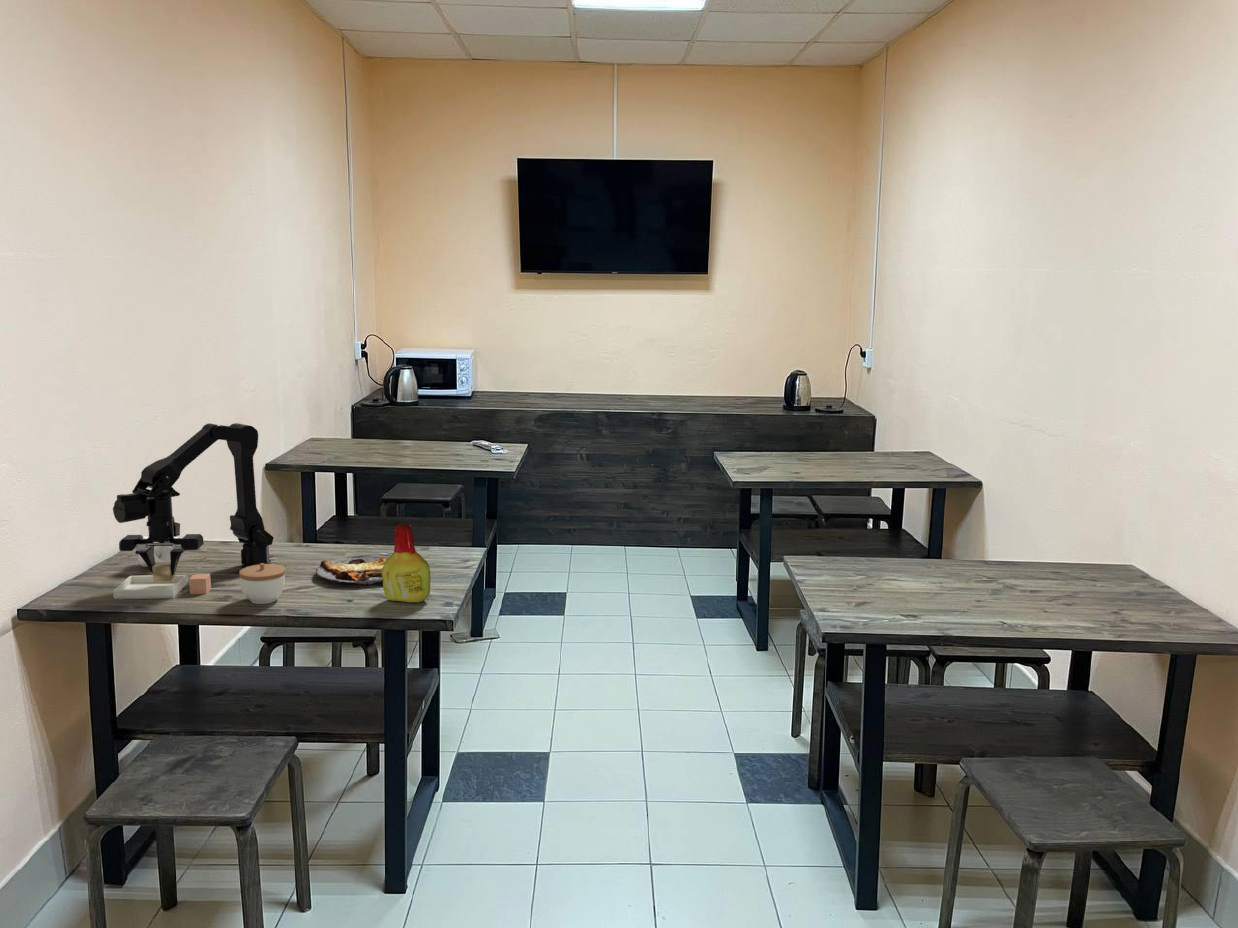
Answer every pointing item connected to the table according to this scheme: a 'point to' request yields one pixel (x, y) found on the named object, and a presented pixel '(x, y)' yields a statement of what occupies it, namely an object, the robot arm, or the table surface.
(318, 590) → the table surface
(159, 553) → the white knot sculpture
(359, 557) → the food plate
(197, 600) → the table surface
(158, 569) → the beech block
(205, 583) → the terracotta block
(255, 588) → the lidded jar
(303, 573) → the table surface
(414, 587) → the bottle
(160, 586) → the tray
